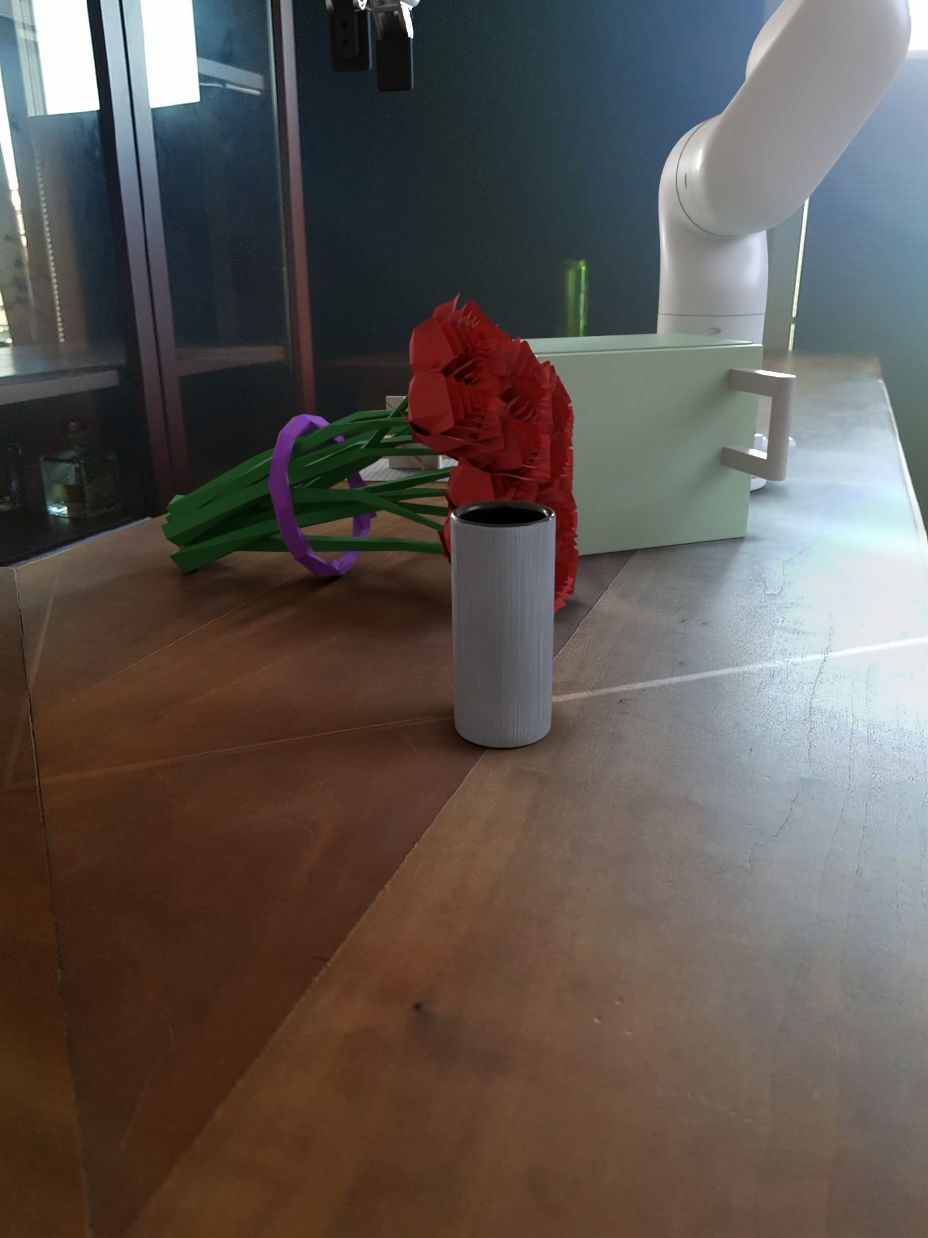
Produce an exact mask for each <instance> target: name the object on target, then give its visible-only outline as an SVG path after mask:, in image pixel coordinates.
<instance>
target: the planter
mask: <svg viewBox="0 0 928 1238" xmlns="http://www.w3.org/2000/svg"><path fill="white" fill-rule="evenodd" d="M555 526H556V515H555V512H554V511H553V510H552V509H551V508H549V507H547V506H544V505H541V504H537V503H532V502H526V501H513V500H494V501H482V502H475V503H470V504H466V505H463V506H460V507H458V508H456V509H455V510H453V511H452V513H451V515H450V528H451V564H450V571H451V573H450V575H451V623H452V624H451V625H452V674H453V675H452V676H453V714H454V728H455V730H456V732H457V733H458V734H459V735H460V736H461V737H462V738H463V739H465V740H466V741H468V742H471V743H473V744H475V745H479V746H483V747H488V748H489V747H490V748H501V749H502V748H503V749H505V748H507V749H509V748H517V747H523V746H524V747H525V746H527V745H531V744H534V743H536V742H538V741H540V740H542V739H543V738H544V737H546V736H547V735H548V733H549V732H550V731H551V727H552V718H553V717H552V716H553V671H554V670H553V667H554V624H555V623H554V622H555V621H554V619H555V618H554V617H555V614H554V576H555Z"/></svg>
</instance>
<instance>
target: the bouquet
mask: <svg viewBox="0 0 928 1238" xmlns="http://www.w3.org/2000/svg"><path fill="white" fill-rule="evenodd" d="M460 294H461V292H459V293H458V294H457V295H456V296H455V298H454V299H453V300H451V301H448V302H444V303H443V304H440V305H437V306H436V307H435V308H434V311H433V313H432V316H431V317H429V318H428V319H426V320H425V321H423V322H421V323H420V324H418V325H417V326H415V327H413V331H412V334H411V337H410V339H409V340H410V341H409V344H408V345H409V366H410V367H409V368H410V370H411V373H412V376H413V377H411V376H409V375H408V377H409V378H410V379H411V380H410V382H409V386H408V394H406V395H405V396H406V397H405V398H404V399H403V400H402V402H401V403H400V404H399V405H398V406H397V407H396V409H395V410H386V409H381V410H363V411H357V412H354V413H352V414H350V415H347V416H345V417H342V418H340V419H337V420H335V421H333V422H331V423H329V422H328V421H327V420H326V419H324V418H323V417H322V416H318V415H312V414H306V413H302V414H299V415H296V416H293V417H292V418H291V419H289V421H288V422H287V423H286V424H285V426H284V427H283V428H282V429H280V431H279V433H278V437H277V440H276V444H275V447H273V448H270V449H268V450H266V451H263V452H262V453H258V454H257V455H254V456H252V457H250V458H249V459H246V460H245V461H244V462H242V463H240V464H238V465H237V466H235V467H233V468H231V469H229V470H227V471H226V472H224V473H222V474H221V475H219V476H217V477H216V478H214V479H212V480H210V481H209V482H207V483H205V484H204V485H202V486H200V487H198V488H197V489H195V490H193V491H191V492H189V493H188V494H186V495H181V494H176V495H175V496H174V497H173V498H172V499H171V500H170V502H169V503H168V505H167V506H165V508H166V510H167V511H168V513H167V514H166V515H165V517H164V518H165V520H166V521H167V522H166V523H164V524H162V525H160V527H161V530H162V532H163V535H164V537H165V539H166V541H168V542H170V543H172V544H173V545H174V546H176V547H178V548H177V549H175V550H174V551H173V552H172V553H170V554H169V555H168V557H169V558H170V559H171V560H172V561H173V563H175V565H177V567H178V568H179V569H180V570H181V571H182V572H183V573H184V574H185V573H190V572H192V571H194V570H197V569H199V568H201V567H204V566H205V565H208V564H210V563H212V562H215V561H217V560H221V559H222V558H225V557H227V556H228V555H231V554H233V553H235V552H256V553H257V552H258V553H262V552H264V553H290V554H291V556H292V557H293V560H295V561H296V562H298V563H299V564H300V565H302V566H303V567H304V568H305V569H306V570H308V571H310V573H312V574H313V575H315V576H317V577H326V576H329V577H330V576H331V577H333V576H335V577H336V576H345V574H346V573H348V571H349V570H350V569H351V567H352V566H353V565H354V564H355V562H357V560H358V558H359V556H360V554H361V552H411V553H412V552H413V553H421V554H422V553H423V554H433V555H442V556H443V557H444V558H446V559H447V561H448V563H449V564H450V565H451V528H450V515H451V513H452V511H453V510H455V509H456V508H458V507H460V506H463V505H466V504H470V503H475V502H482V501H494V500H513V501H526V502H532V503H537V504H541V505H544V506H547V507H549V508H551V509H552V510H553V511H554V512H555V515H556V526H555V576H554V615H556V613H557V612H558V611H559V610H560V609H561V608H563V607H566V606H567V603H566V602H565V601H564V599H566V598H568V597H571V596H572V595H573V594H574V593H575V585H576V580H577V571H578V564H579V556H578V555H579V551H578V549H575V548H574V546H577V545H578V544H577V543H576V542H575V540H574V539H575V538H576V537H578V535H577V534H576V530H577V527H578V513H577V512H576V511H575V510H576V509H577V506H576V503H575V500H574V497H573V494H572V491H571V490H573V485H572V480H573V467H574V466H573V463H574V462H573V449H571V448H569V447H572V446H573V444H572V438H571V437H573V431H572V429H574V427H573V424H574V414H573V406H568V405H569V404H570V403H572V401H571V399H570V397H569V394H567V391H566V389H565V387H564V385H563V383H562V384H561V381H560V378H559V375H558V376H557V375H556V373H557V372H556V371H555V368H554V365H551V366H550V361H546V362H544V363H542V364H540V363H539V362H538V360H537V359H536V357H535V355H534V353H533V352H532V350H531V348H530V346H529V343H528V341H526V340H524V341H522V342H521V343H520V341H521V336H518V337H516V338H515V339H512V338H511V337H510V335H509V332H508V331H505V332H503V331H502V329H500V328H499V327H498V326H499V323H497V324H496V325H495V324H494V323H493V321H491V320H490V319H489V317H488V316H487V315H486V314H485V313H484V312H483V311H482V310H481V309H480V307H479V306H478V304H477V303H476V301H475V300H472V299H470V300H469V301H467V302H466V303H465V304H464V306H463V307H461V308H459V309H457V310H455V309H456V306H457V303H458V300H459V297H460ZM513 340H514V341H513ZM407 408H408V409H407ZM305 432H306V433H305ZM304 433H305V434H304ZM359 433H360V434H359ZM352 434H354V436H352V437H350V438H347V439H345V438H344V436H347V435H352ZM355 434H357V435H355ZM388 434H396V435H394V436H393V437H390V438H384V437H385V436H386V435H388ZM410 443H422V444H424V445H426V446H428V447H429V448H395V447H397V446H399V445H405V444H410ZM324 444H328V446H326V447H323V448H320V449H317V450H315V451H312V450H314V449H316V448H318V447H320V446H321V445H324ZM311 451H312V452H311ZM309 452H310V453H309ZM425 455H442V456H446V457H448V458H449V459H454V460H456V461H458V464H457V466H450V467H446V468H442V469H437V470H433V471H429V472H425V473H421V474H416V475H412V476H408V477H404V478H400V479H395V480H391V481H381V482H378V483H372V484H369V485H368V483H367V481H363V479H362V477H361V475H360V473H359V471H361V470H363V469H365V468H366V467H368V466H370V465H372V464H373V463H375V462H377V461H378V460H379V459H383V457H389V456H425ZM447 477H449V481H447V488H442V487H440V488H438V487H436V488H435V487H432V488H431V487H418V486H422V485H426V484H428V483H429V484H430V483H433V482H438V481H437V480H440V479H444V478H447ZM345 479H347V480H345ZM343 481H346V482H347V484H348V487H349V488H332V487H334V486H336V485H338V484H340V483H342V482H343ZM441 497H444V498H445V500H446V501H447V506H440V505H439V506H438V505H430V504H424V503H423V504H422V503H413V502H406V501H407V500H414V499H424V498H425V499H426V498H441ZM382 511H385V512H387V513H391V514H393V515H396V516H398V517H401V518H405V519H407V520H410V521H412V522H414V523H418V524H421V525H423V526H425V527H428V528H431V529H432V530H436V531H437V535H438V537H439V540H440V542H435V541H427V540H420V539H419V540H418V539H412V538H402V537H401V538H400V537H398V538H397V537H376V536H375V537H374V536H372V537H371V536H369V532H370V530H371V520H372V519H374V518H377V517H378V515H377V512H382ZM423 515H427V516H434V517H435V516H436V517H443V518H446V520H445V521H444V525H443V524H440V523H438V522H436V521H433V520H432V519H429V518H427V517H425V516H423ZM350 518H352V533H351V535H350V536H348V535H347V536H346V535H321V534H304V532H303V531H302V529H304V528H308V527H312V526H317V525H322V524H326V523H327V524H328V523H332V522H336V521H339V520H345V519H350ZM332 552H334V553H335V552H339V553H340V552H342V553H341V555H340V556H339V557H338V558H336V559H333V560H331V561H327V560H325V559H323V558H322V557H319V556H317V555H316V553H332Z"/></svg>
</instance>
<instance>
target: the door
mask: <svg viewBox="0 0 928 1238" xmlns="http://www.w3.org/2000/svg"><path fill="white" fill-rule="evenodd" d="M764 347H765V346H764V344H762V345H756V344H755V345H734V346H712V347H691V348H670V349H648V350H627V351H606V352H585V353H563V354H542V355H535V357H536V359H537V360H538V362H539V363H540V364H542V363H544V362H546V361H550V366H551V365H554V368H555V371H556V372H557V373H556V375H557V376H558V375H559V378H560V381H561V384H562V383H563V385H564V387H565V389H566V391H567V394H569V397H570V399H571V401H572V403H570V404H569V405H568V406H573V414H574V424H573V427H574V429H572V431H573V437H571V438H572V444H573V446H572V447H569V448H571V449H573V462H574V463H573V466H574V467H573V480H572V485H573V490H571V491H572V494H573V497H574V500H575V503H576V506H577V509H576V510H575V511H576V512H577V513H578V527H577V530H576V534H577V535H578V537H576V538H575V539H574V540H575V542H576V543H577V544H578V545H577V546H574V548H575V549H578V551H579V555H578V557H580V556H588V555H597V554H607V553H615V552H625V551H632V550H641V549H650V548H657V547H668V546H675V545H684V544H695V543H701V542H710V541H718V540H719V541H720V540H728V539H737V538H744V537H745V538H746V537H747V528H748V519H749V517H748V516H749V507H750V497H751V491H750V487H751V476H752V475H753V476H756V477H759V478H762V479H765V480H766V481H770V482H783V481H785V480H786V478H787V468H788V459H789V458H788V450H789V440H790V438H791V429H792V420H793V411H794V410H793V409H794V402H795V392H796V385H797V384H796V383H797V376H796V375H792V374H787V373H782V372H781V373H780V372H775V371H769V370H762V369H763V367H762V366H763V359H764V358H763V357H764V349H765V348H764ZM760 396H764V397H770V398H771V406H770V416H769V427H768V436H767V440H768V445H767V453H764V452H761V451H757V450H754V444H755V434H757V433H756V432H757V422H758V421H757V420H758V412H759V400H760Z"/></svg>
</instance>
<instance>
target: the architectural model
mask: <svg viewBox="0 0 928 1238" xmlns="http://www.w3.org/2000/svg"><path fill="white" fill-rule="evenodd" d="M406 396H407V395H404V396H403V395H402V396H401V395H398V396H397V395H387V396H385V407H386V409H385V410H395V409H396V407H397V406H398V405H399V404H400V403H401V402H402V400H403V399H404V398H405V397H406ZM407 409H408V408H407ZM394 435H396V434H388V435H386V436H385V437H384V438H390V437H393V436H394ZM395 448H429V447H428V446H426V445H424V444H422V443H410V444H405V445H399V446H397V447H395ZM442 456H443V455H425V456H388V458H381V459H379V460H378V461H377V462H375V463H373V464H372V465H370V466H368V467H366V468H365V469H363V470H361V471H359V473H360V475H361V477H362V479H363V482H365V481H366V482H368V481H370V482H371V481H374V482H375V481H377V482H386V481H391V480H395V479H400V478H404V477H408V476H412V475H416V474H421V473H425V472H429V471H433V470H437V469H442V468H446V467H450V466H457V464H458V461H456V460H454V459H452V458H443V457H442ZM344 481H347V479H345V480H344ZM448 481H449V477H447V478H444V479H440V480H437V481H436V482H448Z"/></svg>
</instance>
